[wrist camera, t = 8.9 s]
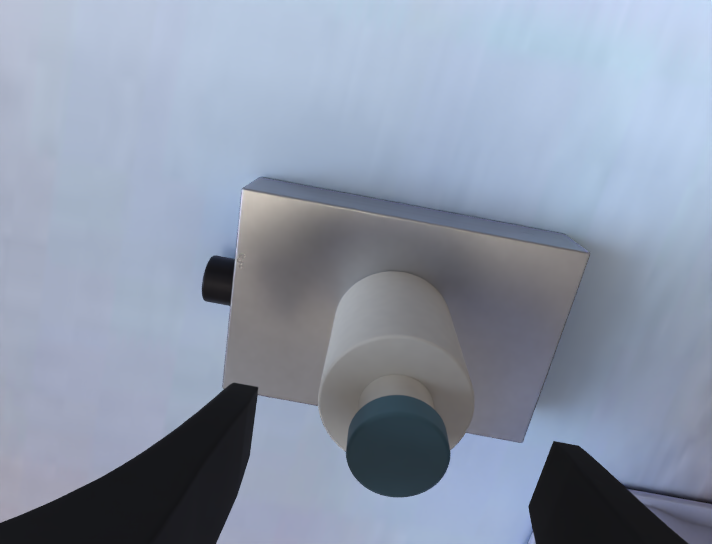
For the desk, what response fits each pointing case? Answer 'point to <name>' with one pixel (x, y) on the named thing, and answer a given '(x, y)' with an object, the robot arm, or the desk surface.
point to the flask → (381, 254)
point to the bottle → (395, 384)
